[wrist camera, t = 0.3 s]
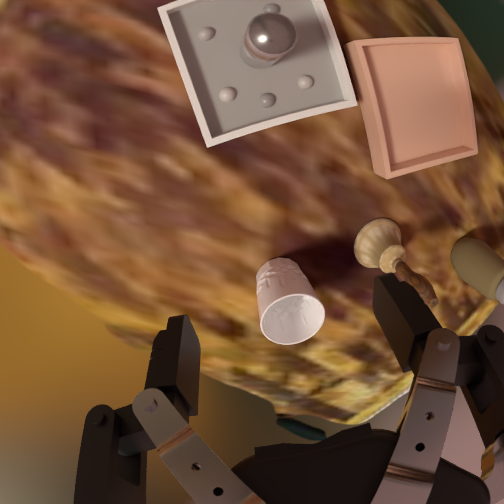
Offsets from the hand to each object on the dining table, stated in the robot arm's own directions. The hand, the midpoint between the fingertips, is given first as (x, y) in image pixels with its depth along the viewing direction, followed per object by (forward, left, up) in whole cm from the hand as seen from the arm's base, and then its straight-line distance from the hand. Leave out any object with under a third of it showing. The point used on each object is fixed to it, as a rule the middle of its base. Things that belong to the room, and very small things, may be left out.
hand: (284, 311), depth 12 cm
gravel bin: (-14, +7, -27) cm, 31 cm away
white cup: (+16, +1, -28) cm, 32 cm away
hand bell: (+16, +17, -28) cm, 36 cm away
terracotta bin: (-4, +27, -27) cm, 38 cm away
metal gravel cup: (-14, +7, -26) cm, 30 cm away
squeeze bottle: (+24, +35, -28) cm, 50 cm away
